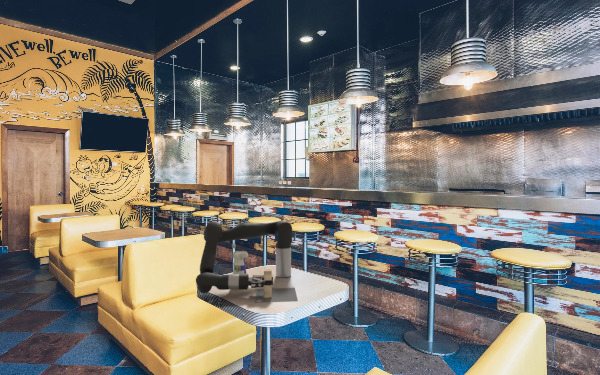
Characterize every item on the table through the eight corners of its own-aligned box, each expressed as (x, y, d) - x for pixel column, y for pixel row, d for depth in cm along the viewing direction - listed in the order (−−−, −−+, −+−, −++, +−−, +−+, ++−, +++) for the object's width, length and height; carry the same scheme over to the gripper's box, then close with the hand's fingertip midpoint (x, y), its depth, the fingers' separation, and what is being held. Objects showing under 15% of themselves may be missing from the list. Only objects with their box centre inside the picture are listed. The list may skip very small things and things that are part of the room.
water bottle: (244, 291, 172) (244, 243, 172) (229, 290, 174) (229, 242, 174) (250, 286, 180) (250, 240, 180) (235, 285, 182) (235, 240, 182)
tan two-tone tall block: (264, 293, 166) (264, 267, 166) (271, 293, 166) (271, 267, 166) (264, 297, 160) (263, 270, 160) (271, 297, 160) (271, 270, 160)
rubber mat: (256, 289, 174) (256, 288, 174) (294, 288, 176) (294, 287, 176) (254, 303, 153) (254, 302, 153) (297, 302, 155) (297, 301, 155)
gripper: (237, 278, 155) (273, 277, 156) (239, 270, 169) (272, 269, 171) (237, 294, 155) (273, 292, 156) (240, 285, 169) (273, 284, 171)
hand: (272, 280), depth 164 cm, fingers closed on tan two-tone tall block, 6 cm apart
